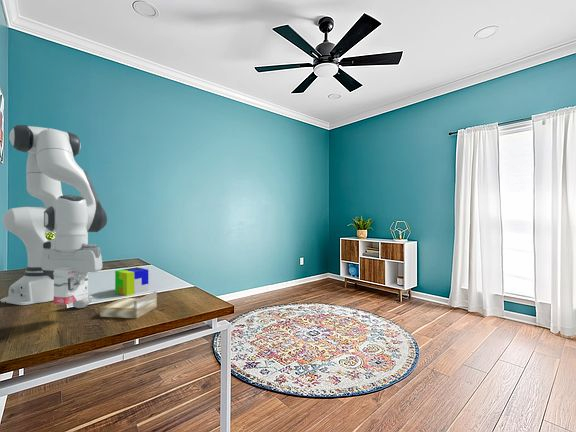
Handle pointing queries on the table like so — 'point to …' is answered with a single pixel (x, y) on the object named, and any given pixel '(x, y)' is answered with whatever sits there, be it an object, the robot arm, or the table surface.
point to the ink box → (68, 286)
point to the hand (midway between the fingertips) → (71, 284)
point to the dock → (130, 307)
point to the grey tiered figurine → (82, 302)
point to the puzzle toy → (131, 281)
